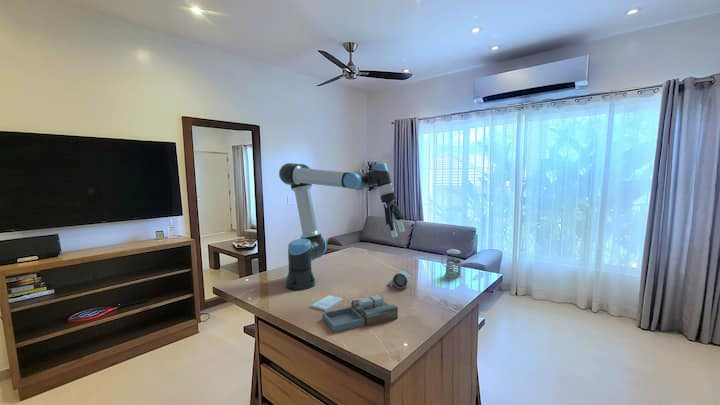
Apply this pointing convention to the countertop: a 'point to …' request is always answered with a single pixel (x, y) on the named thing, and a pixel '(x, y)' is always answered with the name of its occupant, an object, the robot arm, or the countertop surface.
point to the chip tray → (343, 319)
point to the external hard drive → (326, 303)
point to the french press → (456, 262)
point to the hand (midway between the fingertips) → (398, 234)
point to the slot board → (378, 318)
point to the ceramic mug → (400, 279)
